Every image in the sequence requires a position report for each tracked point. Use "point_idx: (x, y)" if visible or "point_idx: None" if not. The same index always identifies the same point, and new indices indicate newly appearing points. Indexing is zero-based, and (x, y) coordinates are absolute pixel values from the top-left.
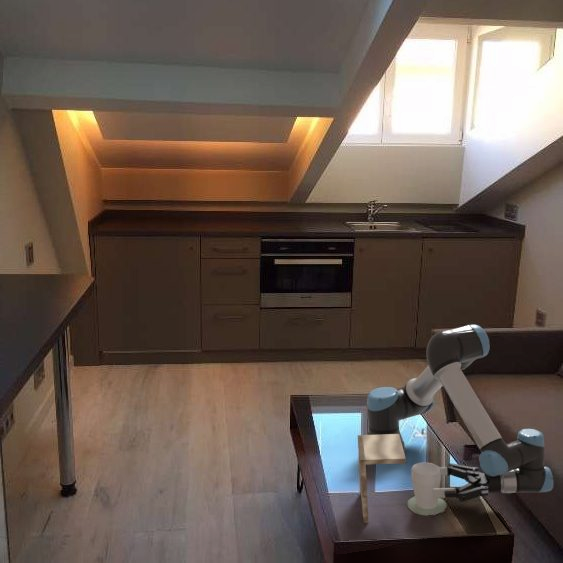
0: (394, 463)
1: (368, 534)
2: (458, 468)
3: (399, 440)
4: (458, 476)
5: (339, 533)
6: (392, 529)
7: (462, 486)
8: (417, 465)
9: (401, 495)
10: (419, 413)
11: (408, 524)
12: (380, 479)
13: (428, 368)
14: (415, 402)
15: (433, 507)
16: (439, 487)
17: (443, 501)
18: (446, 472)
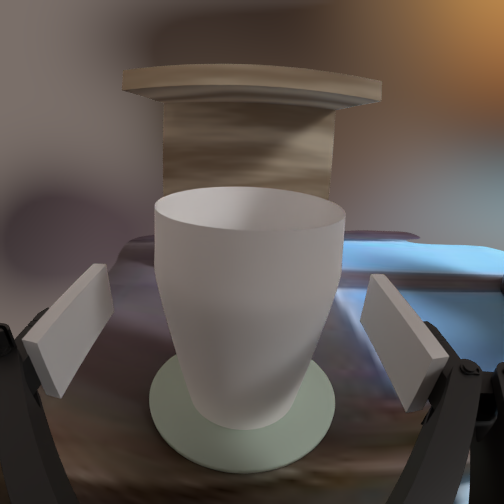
0: (137, 94)
1: (119, 266)
2: (497, 450)
3: (311, 70)
4: (398, 484)
5: (145, 243)
6: (116, 296)
7: (24, 404)
8: (320, 210)
9: (322, 333)
10: None
11: (123, 326)
12: (406, 298)
13: None
14: None
15: (192, 401)
16: (207, 353)
17: (269, 461)
18: (414, 386)
